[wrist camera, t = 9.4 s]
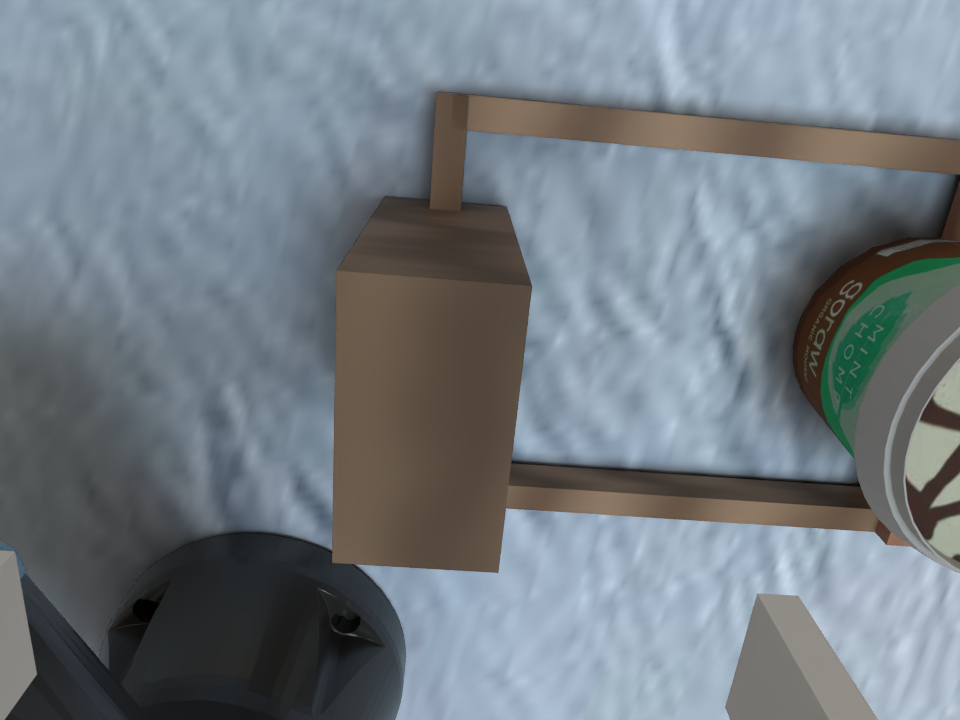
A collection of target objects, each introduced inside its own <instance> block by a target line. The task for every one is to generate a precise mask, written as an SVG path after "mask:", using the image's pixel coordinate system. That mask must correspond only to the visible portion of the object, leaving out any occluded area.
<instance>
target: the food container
mask: <svg viewBox="0 0 960 720" xmlns="http://www.w3.org/2000/svg"><path fill="white" fill-rule="evenodd" d="M793 364H794V369H795V375H796V378H797V380H798V383H799V385H800V388H801V390H802V391H803V393H804V395H805V396H806V398H807V399H808V401H809V402H810V403H811V405H812V406H813V407H814V408H815V410H816V411H817V412H818V413H819V415H820V416H821V417H822V419H823V420H824V421H825V422H826V424H827V425H828V426H829V427H830V429H831V430H832V431H833V433H834V434H835V435H836V436H837V438H838V439H839V440H840V441H841V443H842V444H843V445H844V447H845V448H846V449H847V450H848V452H849V453H850V454H851V455H852V457H853V458H854V459H855V464H856V471H857V478H858V480H859V483H860V486H861V489H862V492H863V494H864V497H865V499H866V501H867V502H868V504H869V506H870V507H871V509H872V511H873V512H874V514H875V515H876V517H877V518H878V519H879V520H880V521H881V522H882V523H883V524H884V525H885V526H886V527H887V528H888V530H889V531H890V532H892V533H893V534H894V535H896V536H897V537H899V538H900V539H901V540H903V541H904V542H906V543H907V544H908V545H910V546H911V547H913V548H915V549H916V550H918V551H919V552H921V553H922V554H924V555H925V556H927V557H928V558H930V559H931V560H933V561H934V562H936V563H938V564H940V565H943V566H945V567H947V568H949V569H951V570H953V571H955V572H959V573H960V242H958V241H952V240H946V239H940V238H906V239H903V240H899V241H895V242H892V243H888V244H884V245H881V246H877V247H873V248H871V249H870V250H868V251H866V252H864V253H863V254H861V255H859V256H858V257H856V258H854V259H853V260H851V261H849V262H847V263H846V264H844V265H842V266H841V267H839V268H838V269H837V270H836V272H835V273H834V274H833V275H832V276H831V277H830V278H829V279H828V280H827V281H826V282H825V283H824V284H823V285H822V286H821V287H820V288H819V289H818V290H817V291H816V292H815V293H814V295H813V296H812V298H811V300H810V302H809V303H808V305H807V307H806V309H805V310H804V312H803V314H802V316H801V318H800V321H799V324H798V327H797V330H796V333H795V339H794V345H793Z"/></svg>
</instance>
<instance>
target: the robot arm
mask: <svg viewBox="0 0 960 720" xmlns="http://www.w3.org/2000/svg"><path fill="white" fill-rule="evenodd" d="M25 570H26V569H25V568H24V566H23V562H22V561H21V559H20V557H19V556H18V554H17V552H16V550H15V549H14V548H12V547H11V546H10V545H8V544H6V543H4V542H0V720H395V719H396V716H397V713H398V710H399V706H400V703H401V698H402V691H403V682H404V672H405V663H406V648H405V640H404V635H403V632H402V628H401V625H400V623H399V620H398V618H397V616H396V613H395V611H394V610H393V608H392V606H391V605H390V603H389V601H388V600H387V599H386V597H385V596H384V594H383V593H382V592H381V591H380V590H379V588H378V587H377V586H376V585H375V584H374V583H373V582H372V581H371V580H370V579H369V578H368V577H366V576H365V575H364V574H363V573H362V572H361V571H359V570H358V569H357V568H355V567H354V566H352V565H351V564H343V563H332V553H330V552H328V551H326V550H324V549H321V548H319V547H317V546H314V545H311V544H308V543H305V542H302V541H298V540H295V539H290V538H286V537H280V536H274V535H264V534H233V535H224V536H217V537H212V538H208V539H204V540H200V541H197V542H194V543H191V544H188V545H186V546H183V547H181V548H179V549H177V550H175V551H173V552H171V553H169V554H168V555H166V556H164V557H163V558H161V559H160V560H158V561H157V562H156V563H154V564H153V565H152V566H151V567H150V568H148V569H147V570H146V571H145V572H144V573H143V574H142V575H141V577H140V578H139V579H138V580H137V581H136V583H135V584H134V585H133V587H132V588H131V590H130V591H129V593H128V594H127V596H126V598H125V599H124V601H123V602H122V604H121V605H120V607H119V608H118V610H117V611H116V613H115V615H114V617H113V618H112V620H111V622H110V624H109V626H108V629H107V631H106V634H105V636H104V639H103V642H102V646H101V650H100V655H99V658H98V657H97V656H96V655H95V654H94V652H93V651H92V650H91V649H90V648H89V647H88V645H87V644H86V643H85V642H84V641H83V640H82V638H81V637H80V636H79V635H78V634H77V633H76V632H75V630H74V629H73V628H72V627H71V626H70V625H69V623H68V622H67V621H66V620H65V619H64V618H63V616H62V615H61V614H60V613H59V612H58V611H57V609H56V608H55V607H54V606H53V605H52V604H51V602H50V601H49V600H48V599H47V598H46V597H45V595H44V594H43V593H42V592H41V591H40V590H39V588H38V587H37V586H36V585H35V584H34V583H33V581H32V580H31V579H30V578H29V577H28V576H27V574H26V573H25ZM725 708H726V710H727V712H728V715H729V717H730V720H878V719H877V717H876V716H875V714H874V713H873V711H872V709H871V708H870V706H869V705H868V703H867V702H866V700H865V699H864V697H863V695H862V694H861V692H860V691H859V689H858V688H857V686H856V685H855V683H854V682H853V680H852V678H851V677H850V675H849V674H848V672H847V671H846V669H845V668H844V666H843V665H842V663H841V661H840V660H839V658H838V657H837V655H836V654H835V652H834V651H833V649H832V647H831V646H830V644H829V643H828V641H827V640H826V638H825V637H824V635H823V634H822V632H821V630H820V629H819V627H818V626H817V624H816V623H815V621H814V620H813V618H812V617H811V615H810V613H809V612H808V610H807V609H806V607H805V606H804V604H803V603H802V601H801V599H800V598H799V596H789V595H772V594H757V597H756V600H755V604H754V607H753V611H752V615H751V618H750V622H749V625H748V629H747V632H746V636H745V639H744V643H743V647H742V650H741V654H740V657H739V661H738V664H737V668H736V671H735V675H734V679H733V682H732V686H731V689H730V693H729V696H728V700H727V703H726V707H725Z"/></svg>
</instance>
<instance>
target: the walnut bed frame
mask: <svg viewBox="0 0 960 720" xmlns="http://www.w3.org/2000/svg"><path fill="white" fill-rule="evenodd" d="M467 130H470V131H482V132H493V133H504V134H515V135H526V136H537V137H548V138H559V139H570V140H581V141H593V142H604V143H615V144H626V145H637V146H648V147H659V148H670V149H681V150H692V151H704V152H715V153H726V154H737V155H748V156H759V157H770V158H781V159H792V160H803V161H815V162H826V163H837V164H848V165H859V166H870V167H881V168H892V169H903V170H914V171H925V172H937V173H948V174H959V175H960V140H956V139H946V138H935V137H924V136H913V135H902V134H892V133H881V132H870V131H859V130H848V129H838V128H827V127H816V126H805V125H794V124H784V123H773V122H762V121H751V120H740V119H730V118H719V117H708V116H697V115H686V114H676V113H665V112H654V111H643V110H632V109H622V108H611V107H600V106H589V105H579V104H568V103H557V102H546V101H535V100H525V99H514V98H503V97H492V96H481V95H471V94H460V93H449V92H437V93H436V109H435V126H434V142H433V159H432V175H431V191H430V200H421V199H409V198H398V197H386V196H385V198H384V199H383V201H382V202H381V204H380V205H379V207H378V208H377V210H376V211H375V213H374V214H373V216H372V217H371V219H370V220H369V222H368V223H367V225H366V226H365V228H364V229H363V231H362V233H361V234H360V236H359V237H358V239H357V240H356V242H355V243H354V245H353V246H352V248H351V249H350V251H349V252H348V254H347V255H346V257H345V258H344V260H343V261H342V263H341V264H340V266H339V267H338V269H337V271H336V332H335V402H334V471H333V541H332V563H343V564H360V565H376V566H393V567H410V568H427V569H444V570H461V571H478V572H494V573H498V571H499V562H500V554H501V545H502V537H503V528H504V520H505V511H506V508H510V509H525V510H541V511H556V512H572V513H588V514H603V515H619V516H635V517H650V518H666V519H682V520H697V521H713V522H729V523H744V524H760V525H776V526H791V527H807V528H822V529H838V530H854V531H869V532H875V533H876V534H877V535H878V536H879V537H880V538H881V539H882V540H883V541H884V543H885V544H886V545H897V546H910V545H908V544H907V543H906V542H904V541H903V540H901V539H900V538H899V537H897V536H896V535H894V534H893V533H892V532H890V531H889V530H888V528H887V527H886V526H885V525H884V524H883V523H882V522H881V521H880V520H879V519H878V518H877V517H876V515H875V514H874V512H873V511H872V509H871V507H870V506H869V504H868V502H867V501H866V499H865V497H864V494H863V492H862V489H861V486H860V487H855V486H840V485H825V484H810V483H795V482H781V481H766V480H751V479H736V478H721V477H706V476H691V475H676V474H661V473H646V472H631V471H617V470H602V469H587V468H572V467H557V466H542V465H527V464H512V463H511V460H512V452H513V443H514V435H515V426H516V418H517V409H518V401H519V392H520V384H521V375H522V367H523V359H524V350H525V342H526V333H527V325H528V316H529V308H530V299H531V291H532V285H531V282H530V278H529V275H528V272H527V269H526V266H525V263H524V259H523V256H522V253H521V250H520V247H519V244H518V241H517V237H516V234H515V231H514V228H513V225H512V222H511V218H510V215H509V212H508V209H507V207H504V206H492V205H480V204H468V203H461V199H462V186H463V173H464V160H465V147H466V134H467ZM941 239H946V240H952V241H958V242H960V182H959V185H958V188H957V191H956V194H955V197H954V200H953V203H952V206H951V209H950V212H949V215H948V218H947V221H946V225H945V228H944V231H943V234H942V237H941Z"/></svg>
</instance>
